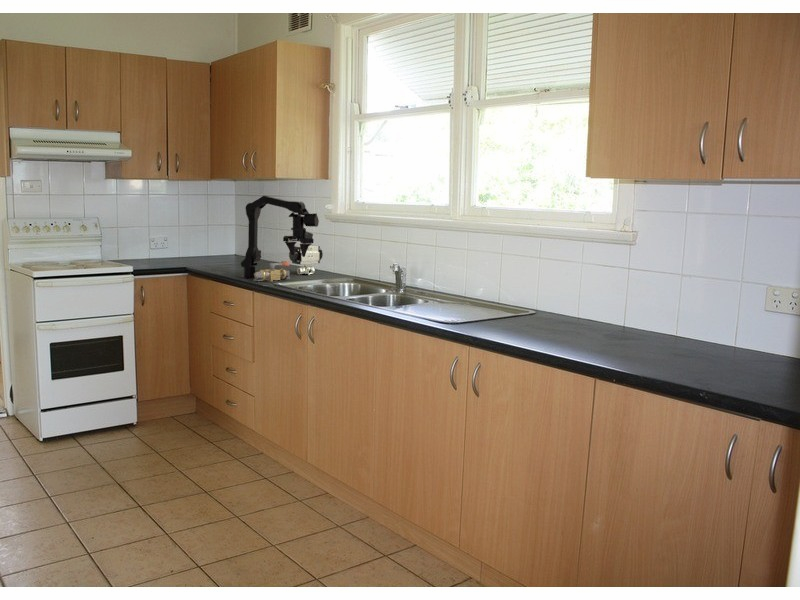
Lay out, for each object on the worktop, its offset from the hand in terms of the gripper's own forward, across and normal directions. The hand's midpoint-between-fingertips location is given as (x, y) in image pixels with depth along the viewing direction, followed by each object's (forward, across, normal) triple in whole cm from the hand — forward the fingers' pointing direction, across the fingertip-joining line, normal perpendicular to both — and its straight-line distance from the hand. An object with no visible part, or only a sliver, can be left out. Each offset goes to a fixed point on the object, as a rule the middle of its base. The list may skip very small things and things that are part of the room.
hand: (298, 256), depth 377 cm
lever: (+7, +9, +6) cm, 13 cm away
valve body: (+13, +9, +10) cm, 19 cm away
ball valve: (+13, +17, -19) cm, 29 cm away
